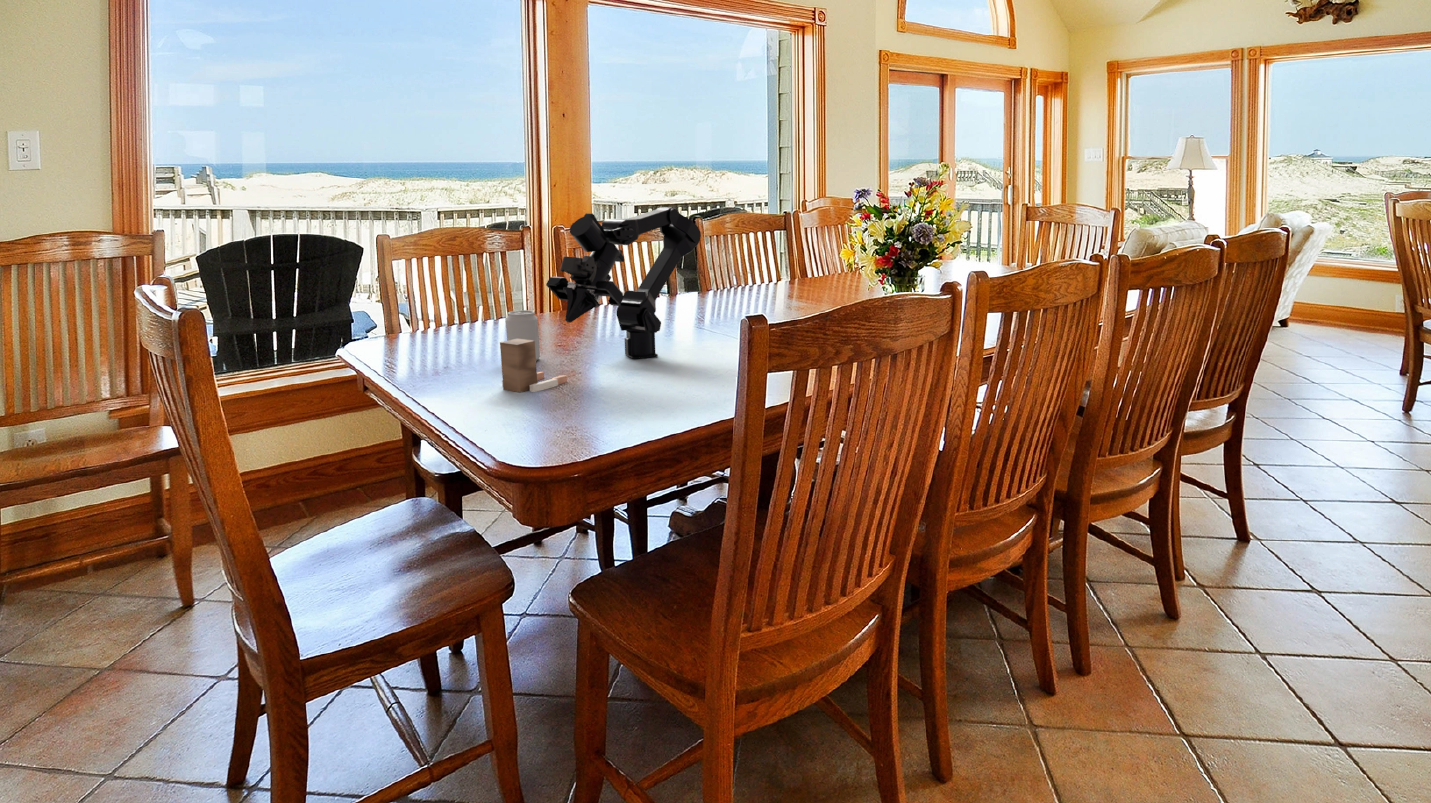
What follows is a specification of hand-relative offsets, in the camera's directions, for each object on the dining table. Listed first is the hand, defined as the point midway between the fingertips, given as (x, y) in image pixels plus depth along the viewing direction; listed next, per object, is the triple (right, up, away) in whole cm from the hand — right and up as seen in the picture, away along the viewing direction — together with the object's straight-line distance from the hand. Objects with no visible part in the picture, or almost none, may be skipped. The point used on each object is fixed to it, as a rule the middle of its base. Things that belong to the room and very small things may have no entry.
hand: (567, 321), depth 210 cm
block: (-9, -15, -9) cm, 19 cm away
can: (-13, -8, +19) cm, 24 cm away
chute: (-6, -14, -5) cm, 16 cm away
